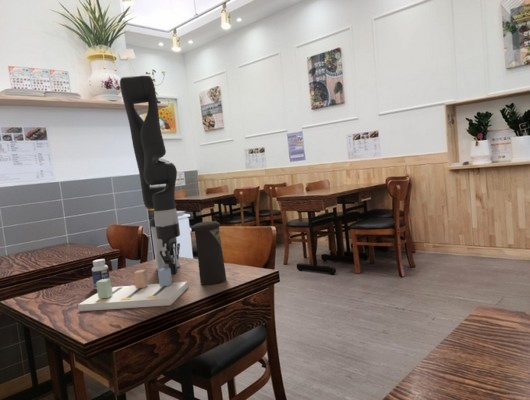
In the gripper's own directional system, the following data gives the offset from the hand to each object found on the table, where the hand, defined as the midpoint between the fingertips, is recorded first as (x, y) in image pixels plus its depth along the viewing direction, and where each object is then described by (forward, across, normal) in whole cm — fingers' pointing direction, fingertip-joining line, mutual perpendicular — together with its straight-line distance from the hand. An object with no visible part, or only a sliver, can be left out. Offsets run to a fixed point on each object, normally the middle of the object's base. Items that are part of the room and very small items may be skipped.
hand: (173, 274), depth 135 cm
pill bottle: (+4, -4, -28) cm, 29 cm away
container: (+4, -1, +13) cm, 13 cm away
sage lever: (+1, +15, -16) cm, 22 cm away
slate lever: (+1, +7, 0) cm, 7 cm away
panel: (+4, +12, -8) cm, 15 cm away
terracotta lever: (+1, +7, -8) cm, 11 cm away
